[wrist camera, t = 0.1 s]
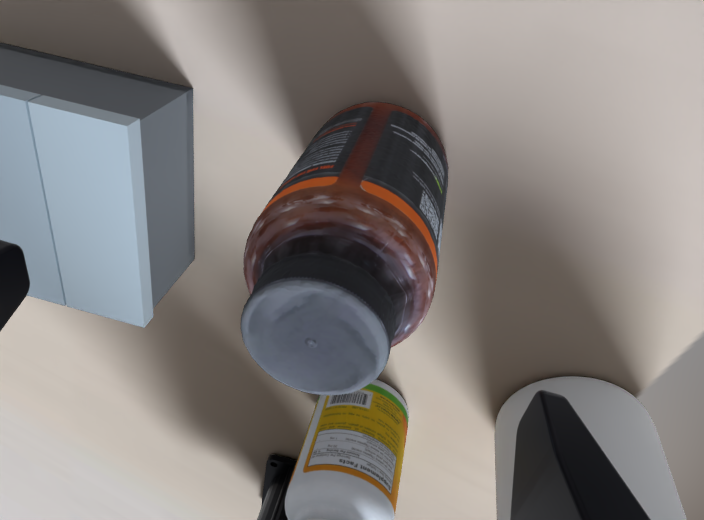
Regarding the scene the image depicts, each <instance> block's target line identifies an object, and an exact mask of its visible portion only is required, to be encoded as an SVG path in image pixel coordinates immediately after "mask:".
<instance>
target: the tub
mask: <svg viewBox="0 0 704 520" xmlns="http://www.w3.org/2000/svg"><path fill="white" fill-rule="evenodd" d="M0 85H4V86H8V87H12V88H16V89H20V90H24V91H28V92H32V93H37V94H41V96H43V95H45V96H49V97H53V98H57V99H61V100H65V101H69V102H73V103H77V104H82V105H86V106H90V107H94V108H98V109H102V110H106V111H110V112H114V113H118V114H122V115H127V116H131V117H135V118H139V119H140V131H141V145H142V159H143V174H144V188H145V202H146V217H147V231H148V245H149V260H150V274H151V288H152V303H153V308H154V307H155V306H156V305H157V303H158V302H159V301H160V300H161V299H162V297H163V296H164V295H165V294H166V293H167V291H168V290H169V289H170V288H171V287H172V285H173V284H174V283H175V282H176V281H177V279H178V278H179V277H180V276H181V275H182V273H183V272H184V271H185V270H186V269H187V267H188V266H189V265H190V264H191V263H192V261H193V260H194V259H195V256H194V151H193V88H189V87H185V86H181V85H177V84H173V83H168V82H164V81H160V80H156V79H152V78H147V77H143V76H139V75H135V74H131V73H126V72H122V71H118V70H114V69H110V68H105V67H101V66H97V65H93V64H88V63H84V62H80V61H76V60H72V59H67V58H63V57H59V56H55V55H51V54H46V53H42V52H38V51H34V50H30V49H25V48H21V47H17V46H13V45H9V44H4V43H0Z"/></svg>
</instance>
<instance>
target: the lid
mask: <svg viewBox="0 0 704 520" xmlns="http://www.w3.org/2000/svg"><path fill="white" fill-rule="evenodd" d="M0 240H3V241H6V242H10V243H14V244H17V245H18V246H20V247H21V249H22V250H23V253H24V257H25V261H26V265H27V270H28V274H29V279H30V288H29V291H28V293H27V295H28V296H31V297H35V298H39V299H42V300H46V301H49V302H53V303H57V304H60V305H64V306H65V305H66V304H67V307H71V308H75V309H78V310H82V311H85V312H89V313H93V314H96V315H100V316H104V317H107V318H111V319H114V320H118V321H122V322H125V323H129V324H132V325H136V326H140V327H143V328H144V327H145V326H146V325H147V324H148V323H149V321H150V320H151V319H152V318H153V303H152V288H151V274H150V260H149V245H148V231H147V217H146V202H145V188H144V174H143V159H142V145H141V131H140V119H139V118H135V117H131V116H127V115H122V114H118V113H114V112H110V111H106V110H102V109H98V108H94V107H90V106H86V105H82V104H77V103H73V102H69V101H65V100H61V99H57V98H53V97H49V96H45V95H43V96H41V94H37V93H32V92H28V91H24V90H20V89H16V88H12V87H8V86H4V85H0Z"/></svg>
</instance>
